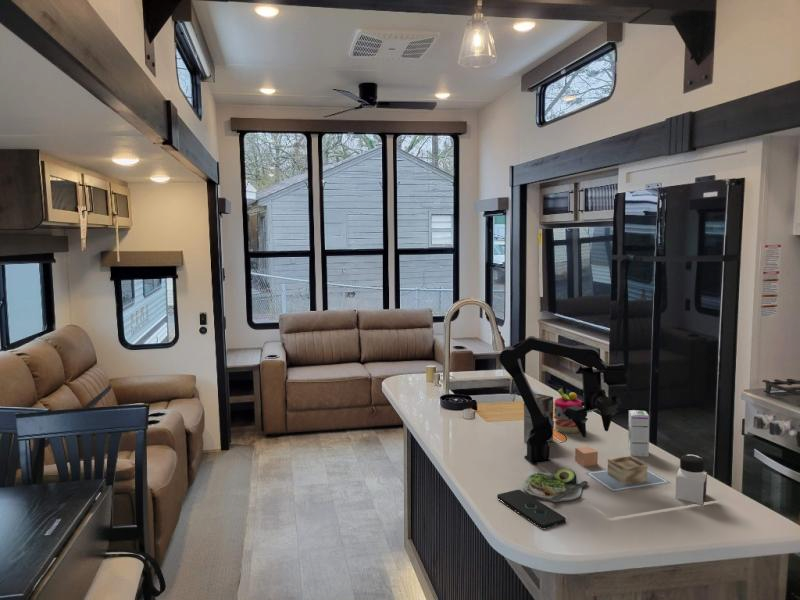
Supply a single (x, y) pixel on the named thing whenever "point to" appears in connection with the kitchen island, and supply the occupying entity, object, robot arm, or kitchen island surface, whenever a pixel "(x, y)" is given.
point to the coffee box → (545, 405)
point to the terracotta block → (586, 456)
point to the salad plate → (555, 485)
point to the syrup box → (638, 433)
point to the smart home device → (532, 509)
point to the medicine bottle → (691, 480)
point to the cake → (561, 404)
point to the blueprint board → (617, 486)
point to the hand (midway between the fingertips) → (595, 434)
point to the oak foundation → (627, 470)
